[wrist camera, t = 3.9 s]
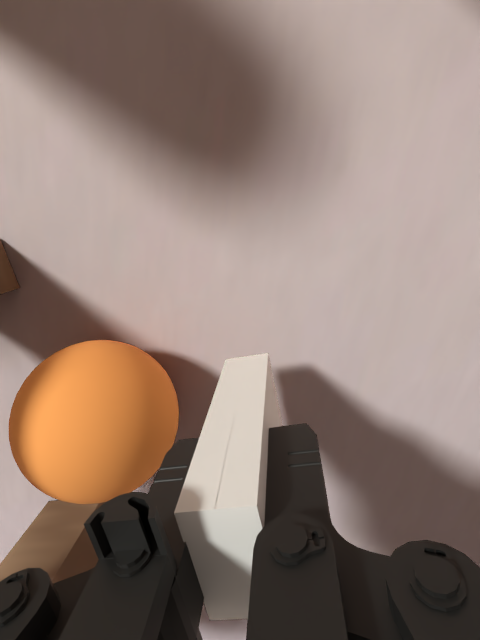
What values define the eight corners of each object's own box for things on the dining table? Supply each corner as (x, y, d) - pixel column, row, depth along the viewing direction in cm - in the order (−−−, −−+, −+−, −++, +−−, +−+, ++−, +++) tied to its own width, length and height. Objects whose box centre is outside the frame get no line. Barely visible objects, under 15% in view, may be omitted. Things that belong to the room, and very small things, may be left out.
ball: (12, 534, 12) (102, 424, 17) (157, 553, 11) (211, 426, 16) (-71, 403, 10) (59, 319, 15) (96, 402, 9) (181, 310, 13)
